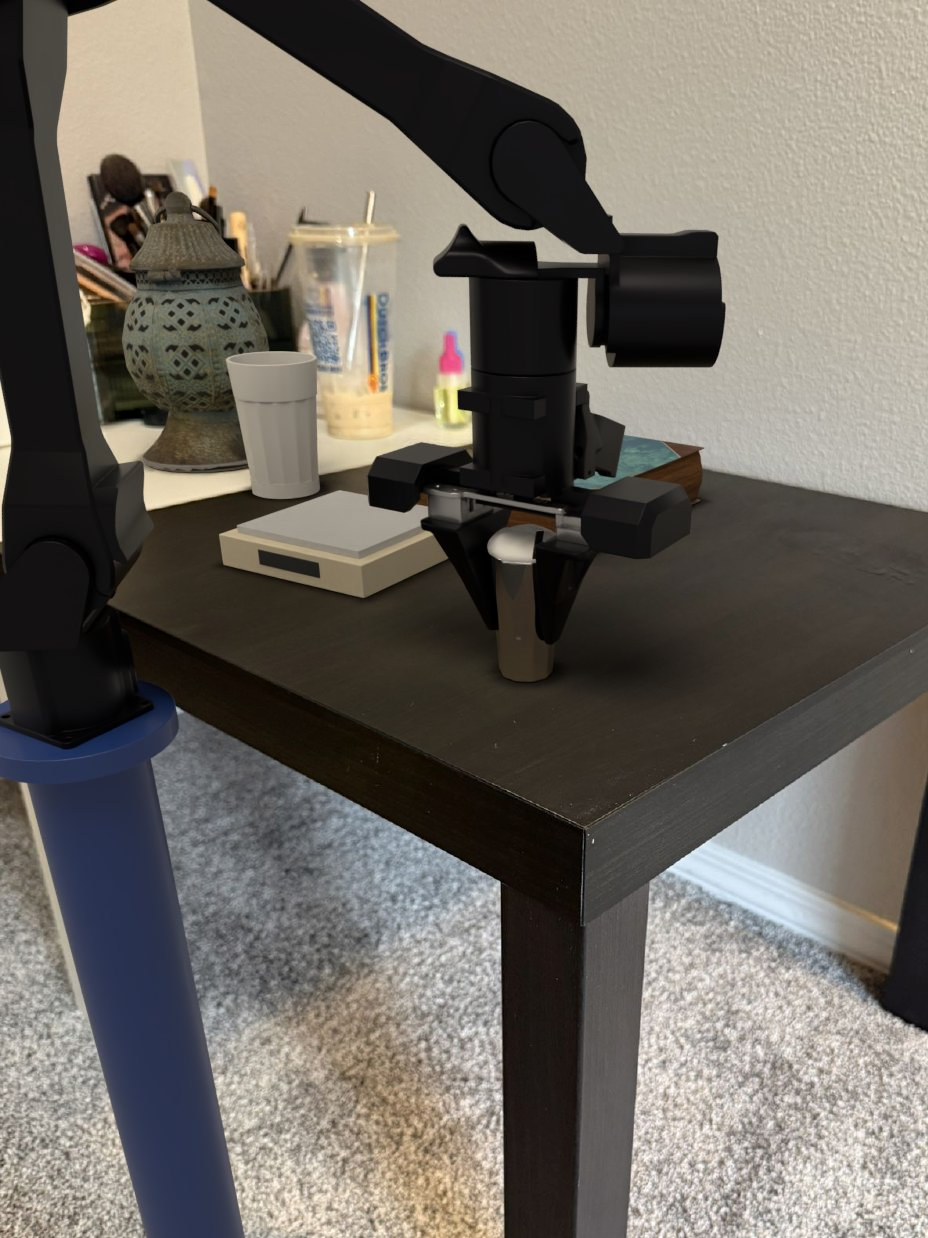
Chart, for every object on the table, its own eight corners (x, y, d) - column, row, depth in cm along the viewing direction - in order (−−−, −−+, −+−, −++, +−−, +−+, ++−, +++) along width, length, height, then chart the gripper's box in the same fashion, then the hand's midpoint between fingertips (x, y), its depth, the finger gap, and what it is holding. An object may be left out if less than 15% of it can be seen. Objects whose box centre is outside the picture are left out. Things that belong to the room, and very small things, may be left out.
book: (549, 473, 110) (550, 422, 108) (703, 501, 102) (707, 447, 99) (398, 526, 94) (395, 468, 91) (567, 565, 85) (568, 503, 83)
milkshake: (500, 696, 64) (499, 532, 59) (482, 660, 69) (480, 505, 64) (574, 689, 65) (579, 527, 61) (551, 653, 70) (554, 501, 65)
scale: (363, 599, 78) (360, 557, 77) (222, 565, 84) (216, 526, 83) (473, 547, 89) (472, 510, 87) (341, 520, 95) (337, 485, 94)
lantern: (114, 457, 114) (64, 190, 102) (225, 434, 124) (192, 188, 112) (196, 479, 106) (153, 193, 95) (308, 453, 116) (281, 191, 105)
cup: (338, 480, 107) (327, 352, 101) (314, 502, 100) (300, 366, 94) (260, 477, 107) (244, 350, 102) (230, 499, 100) (212, 363, 95)
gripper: (741, 364, 61) (717, 624, 68) (465, 334, 69) (471, 570, 76) (654, 396, 52) (638, 689, 60) (351, 358, 60) (370, 620, 68)
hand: (523, 635), depth 66 cm, fingers closed on milkshake, 4 cm apart
